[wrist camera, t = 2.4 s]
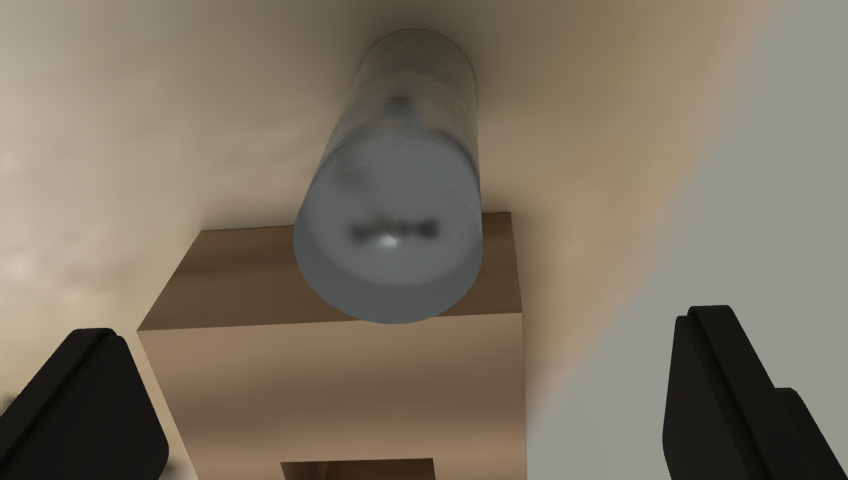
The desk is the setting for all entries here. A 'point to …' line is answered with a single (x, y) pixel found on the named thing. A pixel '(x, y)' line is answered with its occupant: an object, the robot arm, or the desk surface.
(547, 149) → the desk surface
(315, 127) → the desk surface
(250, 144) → the desk surface
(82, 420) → the robot arm
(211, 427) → the hole block
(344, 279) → the long pin
